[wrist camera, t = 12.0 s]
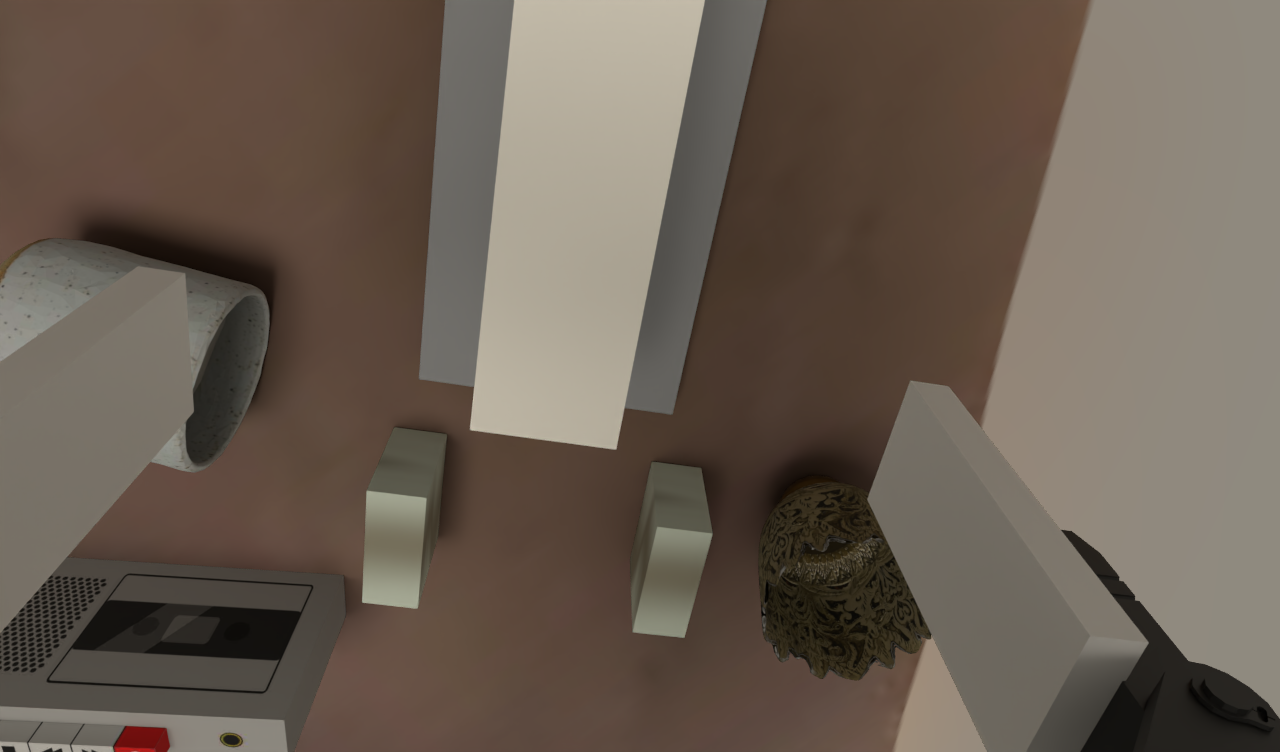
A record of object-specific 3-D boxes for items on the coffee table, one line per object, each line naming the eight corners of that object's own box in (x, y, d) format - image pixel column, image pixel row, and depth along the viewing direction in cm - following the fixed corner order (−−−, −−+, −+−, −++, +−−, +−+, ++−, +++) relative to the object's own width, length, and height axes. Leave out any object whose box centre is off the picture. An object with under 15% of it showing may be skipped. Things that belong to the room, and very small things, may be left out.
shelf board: (531, -104, 23) (525, -108, 21) (710, -68, 24) (718, -68, 22) (477, 401, 30) (469, 430, 29) (615, 420, 31) (616, 449, 29)
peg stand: (670, 398, 39) (682, 486, 32) (425, 363, 37) (389, 448, 31) (788, -130, 29) (837, -148, 23) (466, -200, 28) (426, -239, 22)
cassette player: (344, 573, 43) (275, 740, 34) (346, 614, 44) (280, 785, 35) (17, 553, 41) (-143, 721, 33) (29, 595, 43) (-122, 768, 34)
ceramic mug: (68, 202, 34) (-69, 274, 27) (280, 258, 35) (200, 340, 28) (69, 421, 38) (-47, 529, 32) (256, 463, 40) (182, 575, 33)
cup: (919, 480, 41) (984, 594, 34) (823, 580, 44) (865, 705, 37) (799, 409, 39) (841, 514, 32) (706, 519, 42) (727, 638, 35)
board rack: (676, 565, 43) (684, 638, 39) (388, 531, 41) (362, 602, 37) (701, 468, 40) (712, 533, 36) (394, 427, 39) (366, 490, 34)
